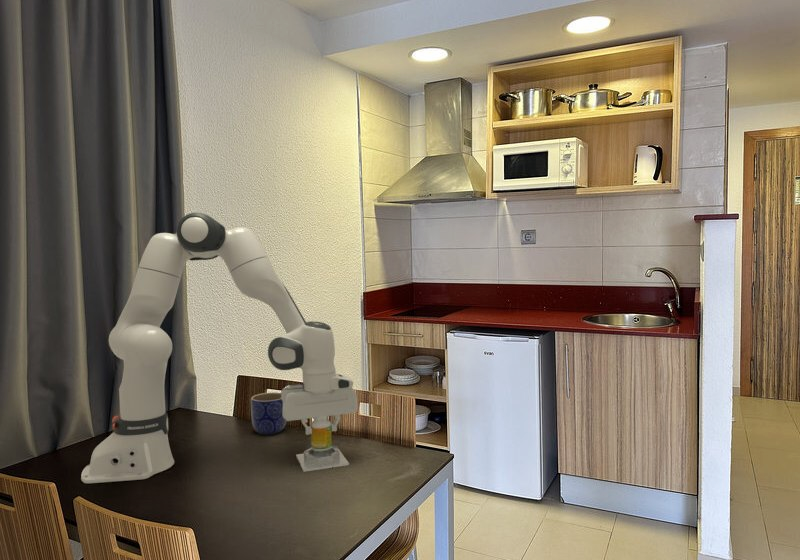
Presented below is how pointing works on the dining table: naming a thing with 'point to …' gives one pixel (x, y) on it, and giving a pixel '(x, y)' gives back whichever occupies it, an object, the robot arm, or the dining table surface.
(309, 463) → the glass ashtray
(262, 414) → the planter
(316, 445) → the supplement bottle
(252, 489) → the dining table surface
